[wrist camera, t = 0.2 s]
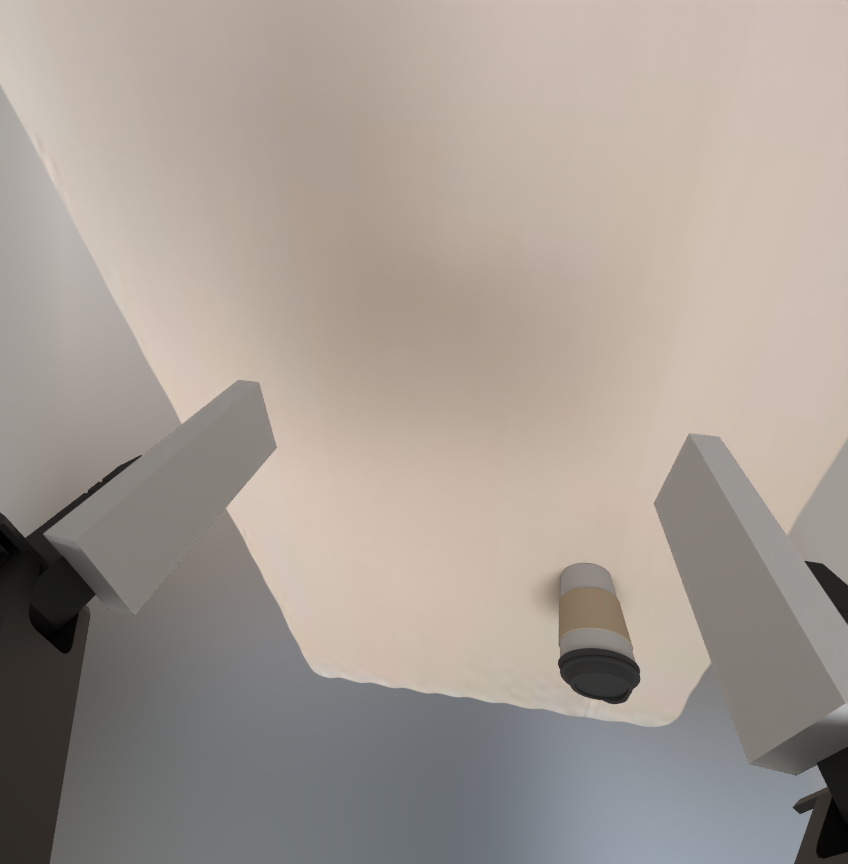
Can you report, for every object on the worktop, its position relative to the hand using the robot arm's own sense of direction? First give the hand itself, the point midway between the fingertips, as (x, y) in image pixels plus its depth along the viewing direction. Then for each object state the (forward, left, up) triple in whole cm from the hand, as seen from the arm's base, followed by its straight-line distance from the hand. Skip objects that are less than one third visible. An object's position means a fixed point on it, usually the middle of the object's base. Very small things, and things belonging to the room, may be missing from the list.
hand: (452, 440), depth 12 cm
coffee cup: (+43, +16, -28) cm, 54 cm away
